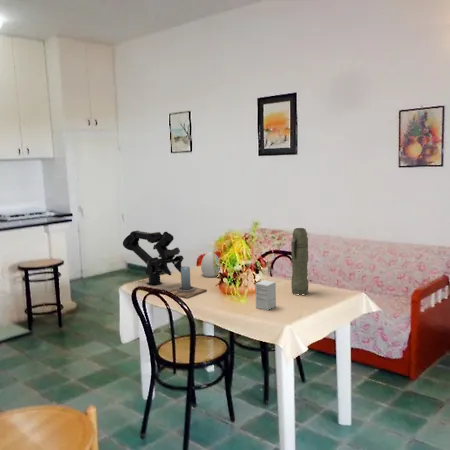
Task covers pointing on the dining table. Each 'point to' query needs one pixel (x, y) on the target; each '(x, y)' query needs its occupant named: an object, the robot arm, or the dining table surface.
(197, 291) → the collar board
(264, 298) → the grey drawer cabinet
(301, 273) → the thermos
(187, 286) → the sleeve
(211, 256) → the decorative egg
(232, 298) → the dining table surface
